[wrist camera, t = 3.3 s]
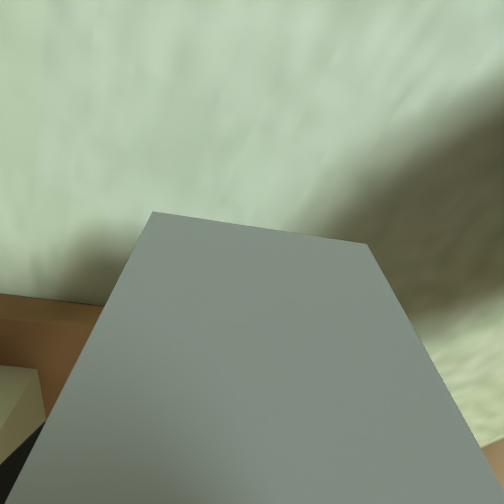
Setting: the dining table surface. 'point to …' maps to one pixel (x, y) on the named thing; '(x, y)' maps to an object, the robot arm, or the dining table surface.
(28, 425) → the sage tin
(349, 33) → the dining table surface
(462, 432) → the tea tin
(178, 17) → the dining table surface
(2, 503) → the robot arm
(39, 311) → the shelf
